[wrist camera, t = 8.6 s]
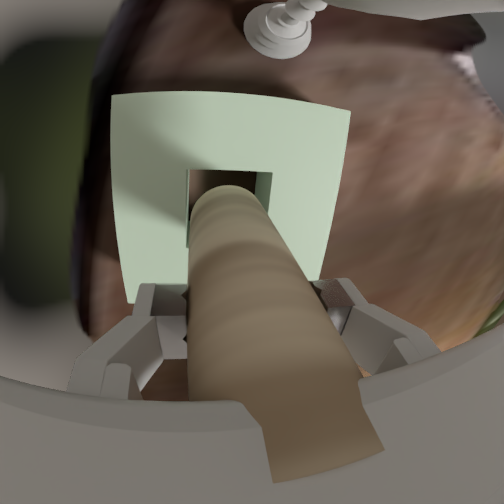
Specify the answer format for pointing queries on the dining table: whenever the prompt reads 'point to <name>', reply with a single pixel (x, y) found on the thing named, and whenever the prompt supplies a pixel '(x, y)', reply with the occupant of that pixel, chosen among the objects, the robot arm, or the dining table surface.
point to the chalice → (306, 3)
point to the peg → (269, 340)
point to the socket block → (220, 158)
